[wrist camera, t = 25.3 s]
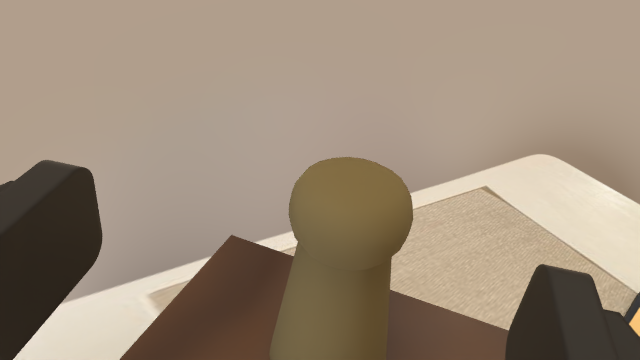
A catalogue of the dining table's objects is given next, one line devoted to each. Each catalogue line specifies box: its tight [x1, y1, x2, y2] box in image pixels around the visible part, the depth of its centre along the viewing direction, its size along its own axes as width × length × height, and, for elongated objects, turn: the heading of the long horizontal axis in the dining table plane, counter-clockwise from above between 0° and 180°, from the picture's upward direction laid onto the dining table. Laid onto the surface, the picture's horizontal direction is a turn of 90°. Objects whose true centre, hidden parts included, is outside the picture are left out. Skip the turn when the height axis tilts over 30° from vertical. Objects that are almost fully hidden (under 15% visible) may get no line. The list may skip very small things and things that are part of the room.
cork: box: [269, 157, 413, 360], centre depth 24 cm, size 6×6×11 cm
